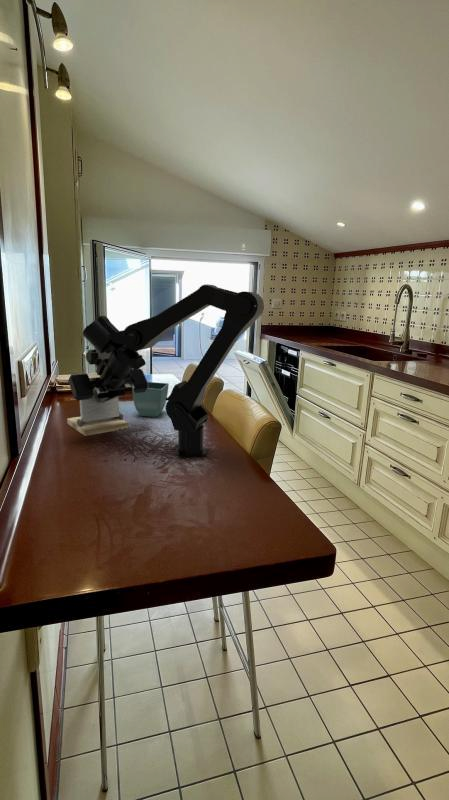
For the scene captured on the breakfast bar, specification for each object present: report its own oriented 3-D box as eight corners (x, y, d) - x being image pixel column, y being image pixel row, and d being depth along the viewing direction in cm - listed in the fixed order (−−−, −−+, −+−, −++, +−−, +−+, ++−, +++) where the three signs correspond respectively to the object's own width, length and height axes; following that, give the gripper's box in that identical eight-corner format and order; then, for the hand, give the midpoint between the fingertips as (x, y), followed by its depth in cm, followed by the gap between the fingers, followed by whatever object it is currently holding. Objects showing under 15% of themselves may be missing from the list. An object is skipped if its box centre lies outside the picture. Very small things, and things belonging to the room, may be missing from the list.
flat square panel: (119, 419, 115) (117, 383, 113) (83, 425, 108) (80, 387, 107) (117, 418, 116) (115, 383, 114) (81, 424, 110) (78, 387, 108)
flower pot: (169, 411, 130) (169, 382, 128) (162, 419, 122) (162, 389, 120) (140, 409, 131) (140, 381, 129) (131, 417, 123) (131, 387, 120)
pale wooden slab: (128, 428, 113) (128, 417, 113) (85, 436, 106) (84, 424, 105) (108, 417, 122) (108, 407, 121) (67, 423, 115) (66, 413, 114)
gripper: (142, 337, 108) (122, 373, 119) (69, 340, 96) (54, 379, 107) (158, 373, 104) (137, 406, 115) (84, 380, 93) (67, 417, 103)
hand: (100, 401), depth 110 cm, fingers closed, pressing on flat square panel
